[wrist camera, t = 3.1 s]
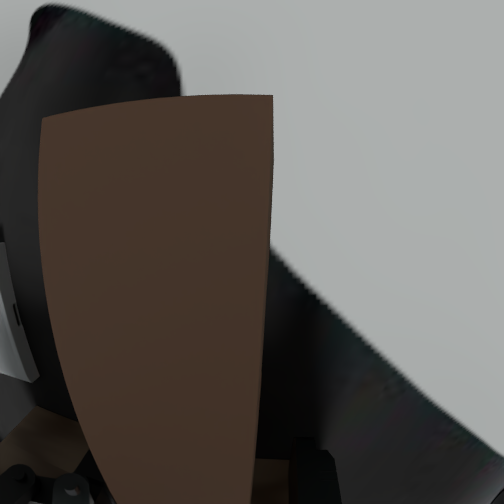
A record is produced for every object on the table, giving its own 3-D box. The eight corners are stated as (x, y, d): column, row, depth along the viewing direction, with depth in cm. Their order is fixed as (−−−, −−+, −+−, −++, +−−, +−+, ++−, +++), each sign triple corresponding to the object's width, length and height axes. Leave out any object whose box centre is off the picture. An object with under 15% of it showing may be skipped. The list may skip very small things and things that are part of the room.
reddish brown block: (273, 161, 11) (273, 94, 3) (257, 428, 13) (243, 573, 5) (191, 160, 11) (42, 118, 3) (196, 421, 13) (151, 557, 6)
